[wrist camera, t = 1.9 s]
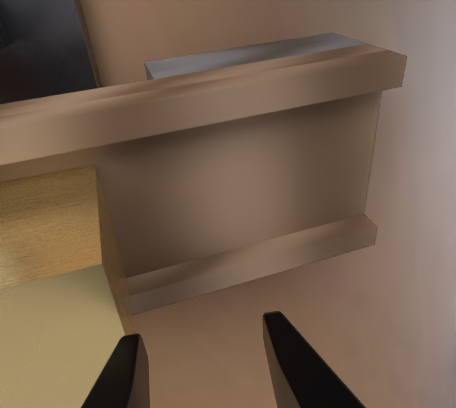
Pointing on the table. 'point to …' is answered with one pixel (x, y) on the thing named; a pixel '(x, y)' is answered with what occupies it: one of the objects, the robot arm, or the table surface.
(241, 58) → the beam
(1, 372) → the yellow wooden cube
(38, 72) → the beam stand
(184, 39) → the table surface
